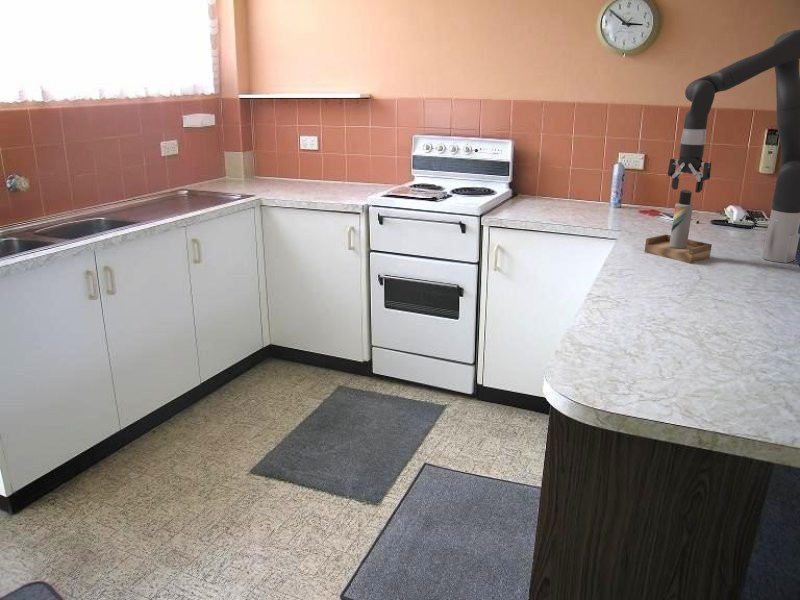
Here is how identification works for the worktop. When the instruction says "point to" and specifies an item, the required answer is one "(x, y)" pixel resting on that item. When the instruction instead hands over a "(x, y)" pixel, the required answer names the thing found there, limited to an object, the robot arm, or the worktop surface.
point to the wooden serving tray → (689, 254)
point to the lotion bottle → (681, 220)
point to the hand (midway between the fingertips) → (686, 190)
